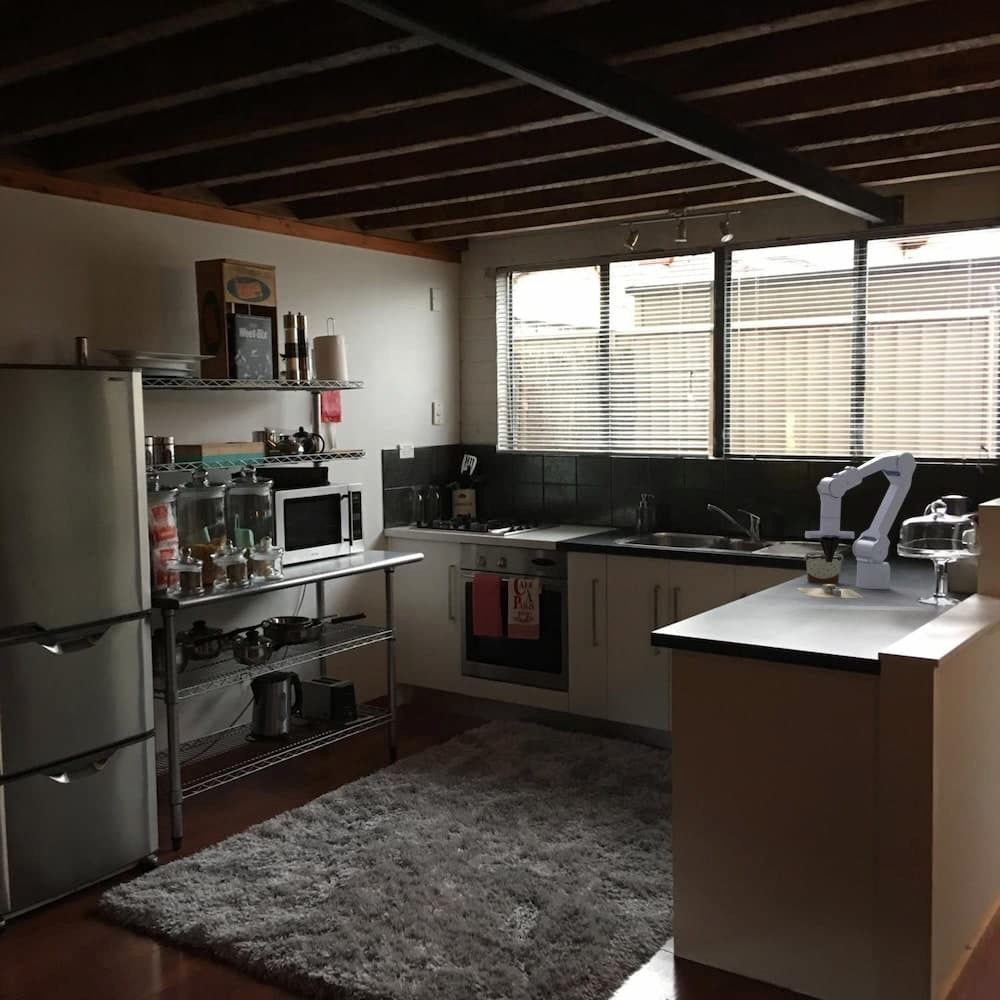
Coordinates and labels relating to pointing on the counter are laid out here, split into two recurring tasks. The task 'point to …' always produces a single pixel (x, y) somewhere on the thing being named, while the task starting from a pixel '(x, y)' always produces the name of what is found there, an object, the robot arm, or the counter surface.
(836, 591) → the t key
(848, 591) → the plate
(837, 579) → the food container
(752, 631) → the counter surface
